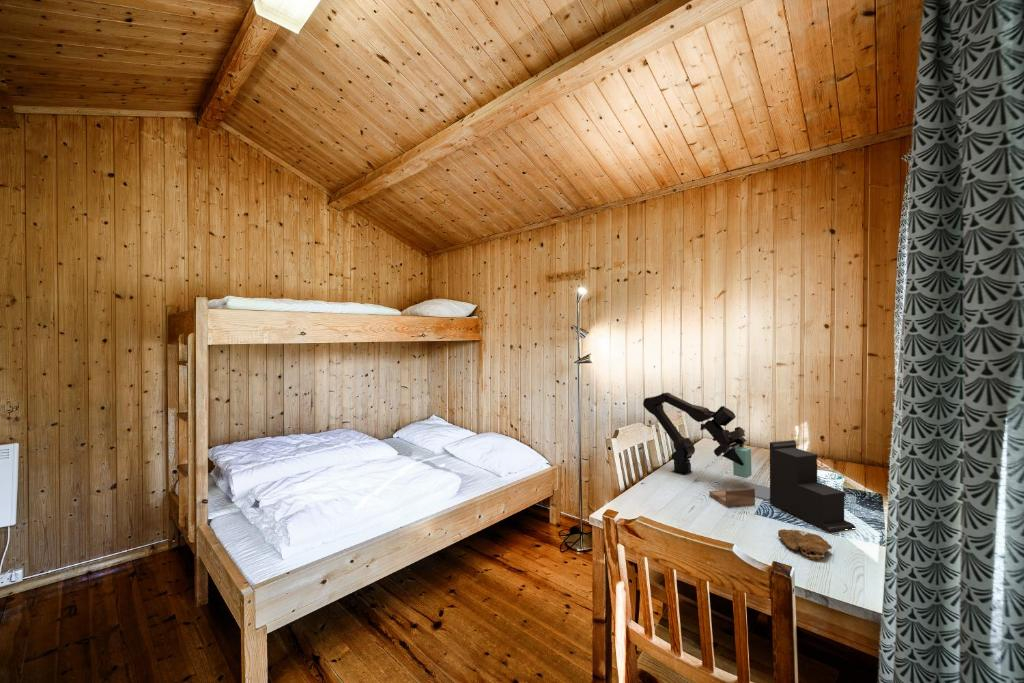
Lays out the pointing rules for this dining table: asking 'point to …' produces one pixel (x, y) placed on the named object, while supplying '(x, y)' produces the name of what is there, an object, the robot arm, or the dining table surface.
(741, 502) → the walnut ledge
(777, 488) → the bookend
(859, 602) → the dining table surface
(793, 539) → the decorative rock
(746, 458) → the teal block
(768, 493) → the slate mat
